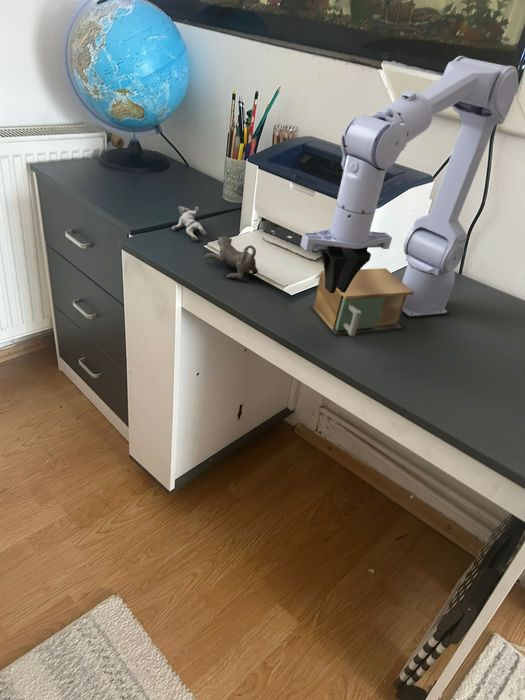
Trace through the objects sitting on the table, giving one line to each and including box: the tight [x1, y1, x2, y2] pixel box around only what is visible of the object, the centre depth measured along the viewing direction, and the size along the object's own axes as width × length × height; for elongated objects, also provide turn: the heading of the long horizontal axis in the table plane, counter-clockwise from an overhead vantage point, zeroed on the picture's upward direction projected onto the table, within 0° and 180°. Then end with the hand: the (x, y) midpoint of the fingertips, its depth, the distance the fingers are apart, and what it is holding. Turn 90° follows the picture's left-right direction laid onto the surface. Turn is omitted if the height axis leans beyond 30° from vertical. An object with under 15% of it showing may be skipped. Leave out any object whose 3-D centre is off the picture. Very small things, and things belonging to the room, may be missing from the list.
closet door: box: [335, 297, 385, 337], centre depth 91 cm, size 8×4×6 cm, turn 112°
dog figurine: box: [203, 236, 259, 280], centre depth 105 cm, size 12×6×7 cm, turn 44°
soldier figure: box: [171, 205, 207, 242], centre depth 120 cm, size 8×5×12 cm
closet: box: [312, 267, 414, 336], centre depth 96 cm, size 14×9×8 cm
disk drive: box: [262, 227, 320, 253], centre depth 123 cm, size 10×3×15 cm
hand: (335, 290), depth 83 cm, fingers closed
